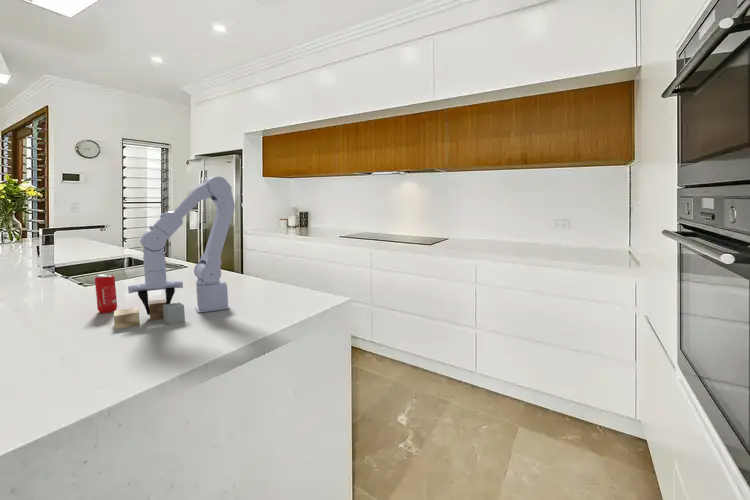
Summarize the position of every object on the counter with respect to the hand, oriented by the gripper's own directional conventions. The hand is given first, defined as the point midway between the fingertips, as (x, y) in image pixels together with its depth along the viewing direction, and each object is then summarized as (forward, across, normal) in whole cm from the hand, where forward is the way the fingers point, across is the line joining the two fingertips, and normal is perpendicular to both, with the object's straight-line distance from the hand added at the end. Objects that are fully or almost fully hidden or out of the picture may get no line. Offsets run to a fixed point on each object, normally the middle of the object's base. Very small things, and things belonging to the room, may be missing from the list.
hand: (158, 312), depth 117 cm
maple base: (+2, +8, +3) cm, 9 cm away
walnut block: (+1, 0, 0) cm, 1 cm away
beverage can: (+2, +14, -15) cm, 21 cm away
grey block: (+2, -4, +6) cm, 8 cm away
